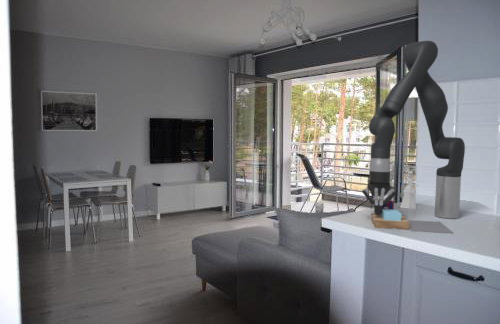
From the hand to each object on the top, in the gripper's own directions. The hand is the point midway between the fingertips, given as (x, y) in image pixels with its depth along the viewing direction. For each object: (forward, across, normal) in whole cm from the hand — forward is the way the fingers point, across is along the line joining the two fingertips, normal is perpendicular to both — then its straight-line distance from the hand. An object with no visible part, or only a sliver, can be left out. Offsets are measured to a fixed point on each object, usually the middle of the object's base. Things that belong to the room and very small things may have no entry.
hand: (377, 214), depth 150 cm
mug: (+4, -4, -14) cm, 15 cm away
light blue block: (+1, -5, 0) cm, 5 cm away
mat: (+3, -17, +1) cm, 18 cm away
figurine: (+4, -18, -37) cm, 41 cm away
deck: (+3, -4, 0) cm, 5 cm away
